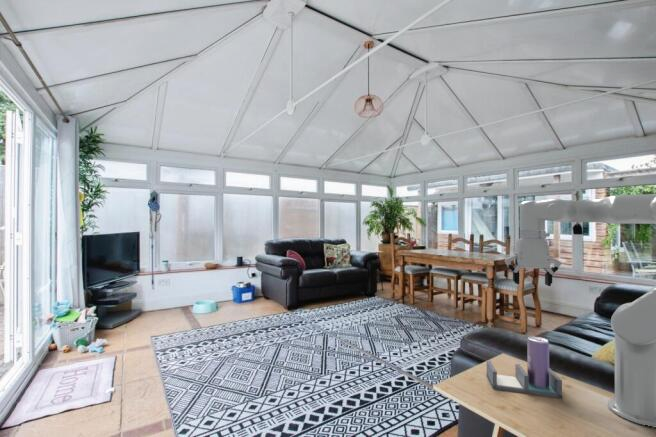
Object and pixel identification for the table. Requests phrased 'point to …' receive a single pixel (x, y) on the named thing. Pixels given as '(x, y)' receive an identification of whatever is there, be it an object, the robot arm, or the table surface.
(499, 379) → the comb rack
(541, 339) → the beverage can
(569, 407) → the table surface
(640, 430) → the table surface
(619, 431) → the table surface
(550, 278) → the robot arm
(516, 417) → the table surface
